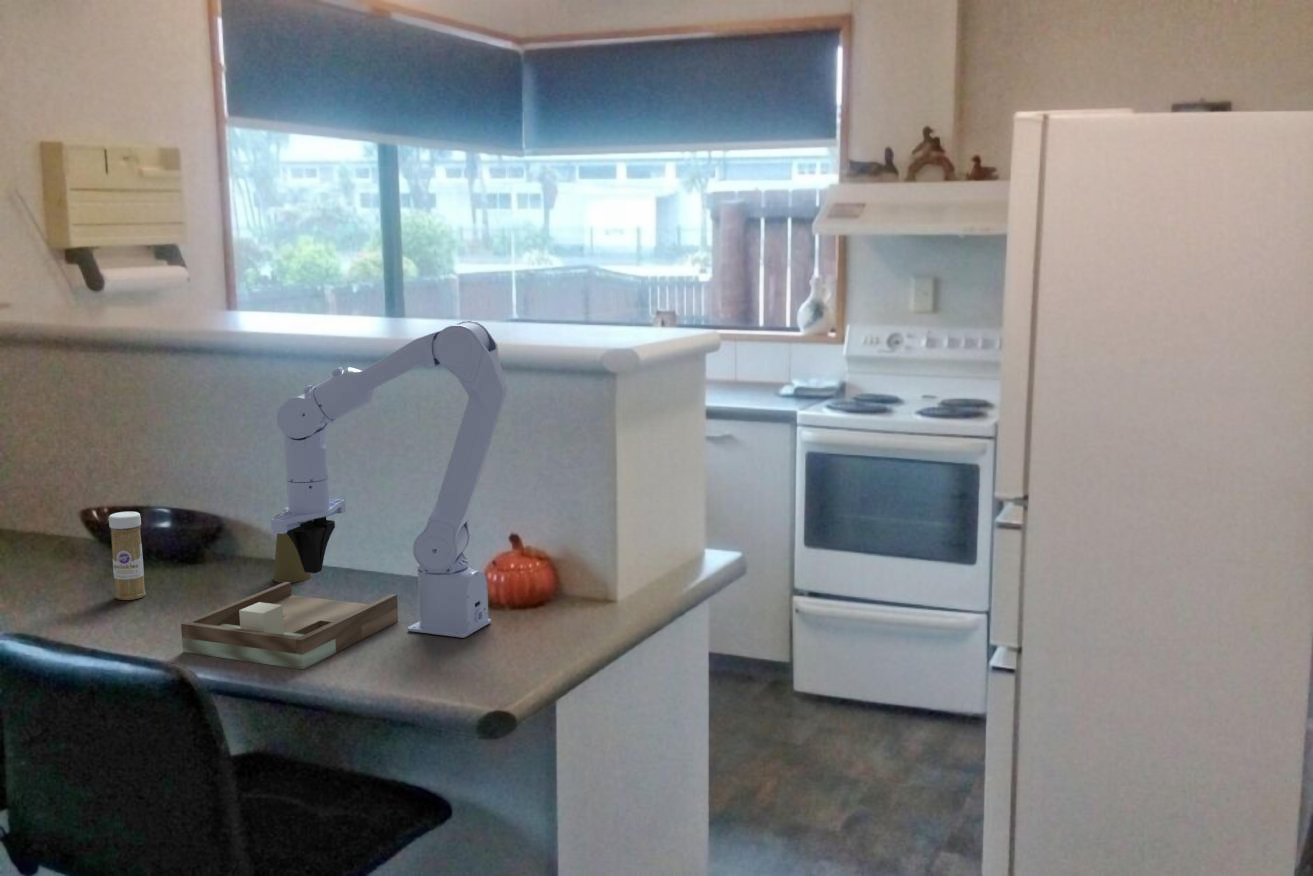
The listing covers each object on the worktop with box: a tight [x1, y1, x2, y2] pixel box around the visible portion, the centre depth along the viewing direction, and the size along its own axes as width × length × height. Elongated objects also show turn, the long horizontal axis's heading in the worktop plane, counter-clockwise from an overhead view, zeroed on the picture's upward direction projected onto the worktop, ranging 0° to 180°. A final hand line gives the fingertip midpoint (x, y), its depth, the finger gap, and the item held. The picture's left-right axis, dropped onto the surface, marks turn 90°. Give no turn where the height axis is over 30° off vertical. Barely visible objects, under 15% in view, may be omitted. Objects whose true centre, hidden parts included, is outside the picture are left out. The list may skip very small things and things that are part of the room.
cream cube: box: [239, 602, 284, 634], centre depth 169 cm, size 4×4×4 cm
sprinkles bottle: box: [108, 511, 147, 601], centre depth 194 cm, size 5×5×13 cm
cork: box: [273, 512, 312, 584], centre depth 205 cm, size 6×6×11 cm
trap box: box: [180, 582, 399, 670], centre depth 175 cm, size 20×22×4 cm
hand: (312, 571), depth 178 cm, fingers closed
